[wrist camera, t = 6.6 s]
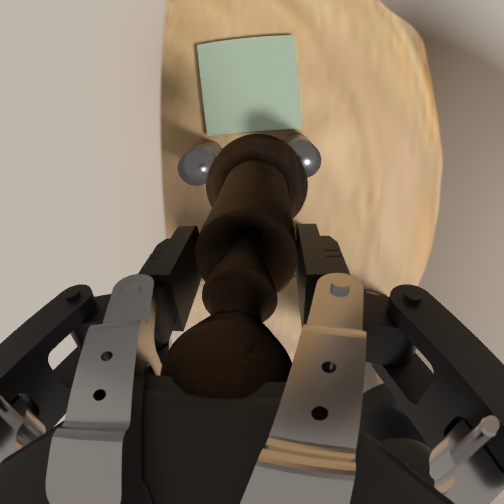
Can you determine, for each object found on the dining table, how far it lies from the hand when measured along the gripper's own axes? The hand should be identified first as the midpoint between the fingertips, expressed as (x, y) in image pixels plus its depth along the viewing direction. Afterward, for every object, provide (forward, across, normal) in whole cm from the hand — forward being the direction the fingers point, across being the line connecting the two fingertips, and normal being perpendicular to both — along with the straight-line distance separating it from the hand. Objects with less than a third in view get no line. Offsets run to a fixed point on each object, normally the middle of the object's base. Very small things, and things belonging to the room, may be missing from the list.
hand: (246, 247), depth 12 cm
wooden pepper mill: (+10, 0, 0) cm, 10 cm away
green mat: (+25, +1, -8) cm, 26 cm away
